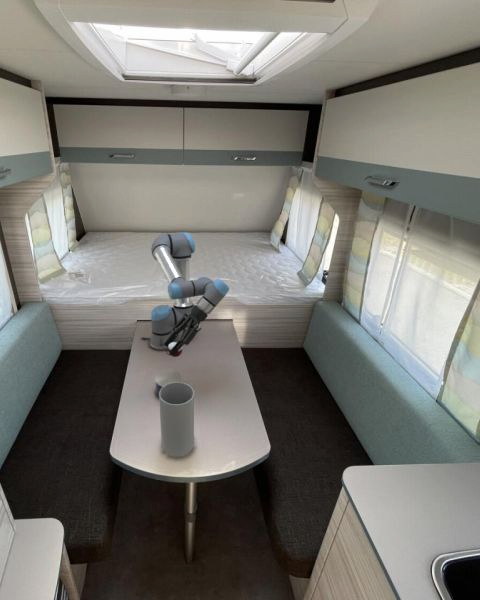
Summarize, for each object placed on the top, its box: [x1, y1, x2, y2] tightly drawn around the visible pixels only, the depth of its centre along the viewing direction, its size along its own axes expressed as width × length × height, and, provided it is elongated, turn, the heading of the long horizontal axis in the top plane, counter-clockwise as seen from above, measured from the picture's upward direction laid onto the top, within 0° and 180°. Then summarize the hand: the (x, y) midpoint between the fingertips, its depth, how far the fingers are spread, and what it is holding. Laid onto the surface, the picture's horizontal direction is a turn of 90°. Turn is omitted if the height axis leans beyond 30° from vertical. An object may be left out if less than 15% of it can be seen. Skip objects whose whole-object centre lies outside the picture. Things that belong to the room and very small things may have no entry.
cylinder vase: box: [158, 381, 195, 458], centre depth 122 cm, size 12×12×25 cm
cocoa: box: [165, 328, 187, 358], centre depth 145 cm, size 10×6×12 cm, turn 98°
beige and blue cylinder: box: [154, 369, 183, 398], centre depth 153 cm, size 12×12×8 cm
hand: (168, 349), depth 144 cm, fingers closed on cocoa, 6 cm apart
